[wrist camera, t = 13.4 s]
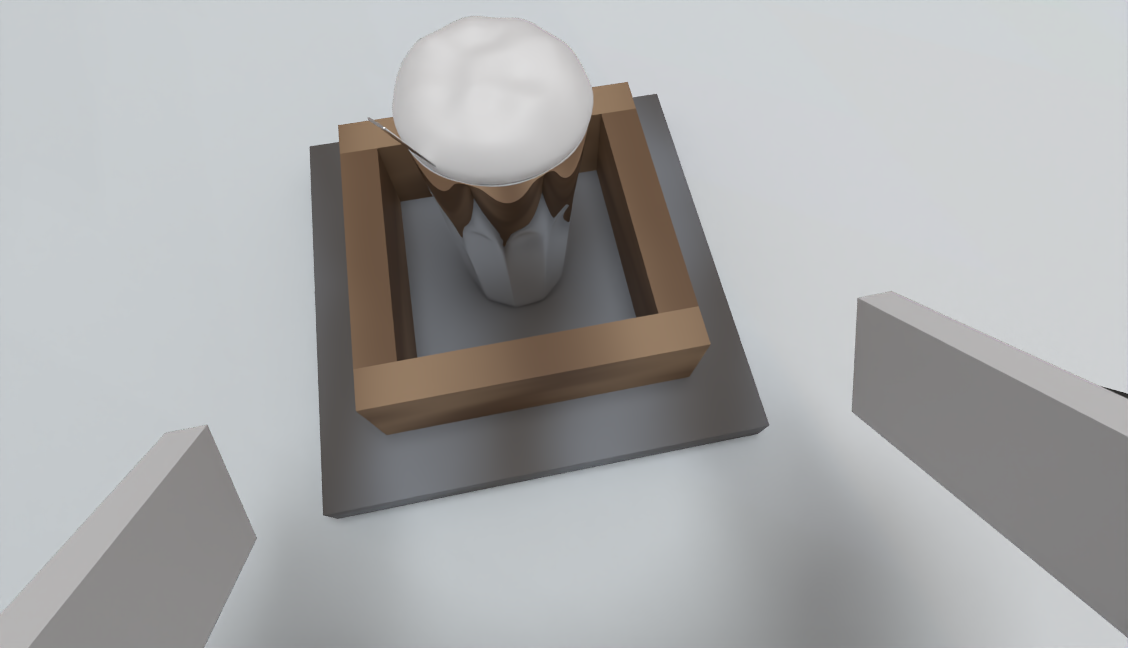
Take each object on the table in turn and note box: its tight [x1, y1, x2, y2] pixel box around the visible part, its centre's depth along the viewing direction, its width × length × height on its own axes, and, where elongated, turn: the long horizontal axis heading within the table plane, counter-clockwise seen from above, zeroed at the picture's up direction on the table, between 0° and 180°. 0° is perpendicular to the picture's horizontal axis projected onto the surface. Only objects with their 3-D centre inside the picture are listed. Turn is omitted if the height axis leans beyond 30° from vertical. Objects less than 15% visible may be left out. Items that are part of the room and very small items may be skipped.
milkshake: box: [368, 16, 593, 308], centre depth 16 cm, size 4×5×10 cm
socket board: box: [310, 82, 769, 519], centre depth 20 cm, size 14×14×4 cm
